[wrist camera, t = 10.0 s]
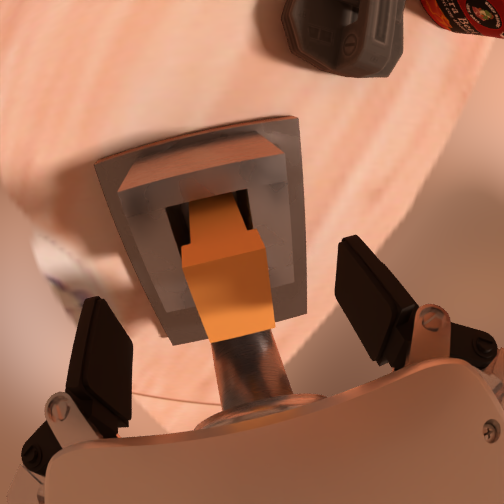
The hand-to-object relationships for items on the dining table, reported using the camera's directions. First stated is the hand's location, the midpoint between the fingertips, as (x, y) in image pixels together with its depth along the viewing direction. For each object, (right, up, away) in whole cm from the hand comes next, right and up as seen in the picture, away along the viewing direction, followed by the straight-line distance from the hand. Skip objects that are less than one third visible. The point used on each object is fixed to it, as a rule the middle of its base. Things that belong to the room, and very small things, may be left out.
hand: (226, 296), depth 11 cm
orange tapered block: (-2, +5, +9) cm, 11 cm away
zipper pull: (+8, +25, 0) cm, 27 cm away
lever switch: (-2, +2, +13) cm, 13 cm away
